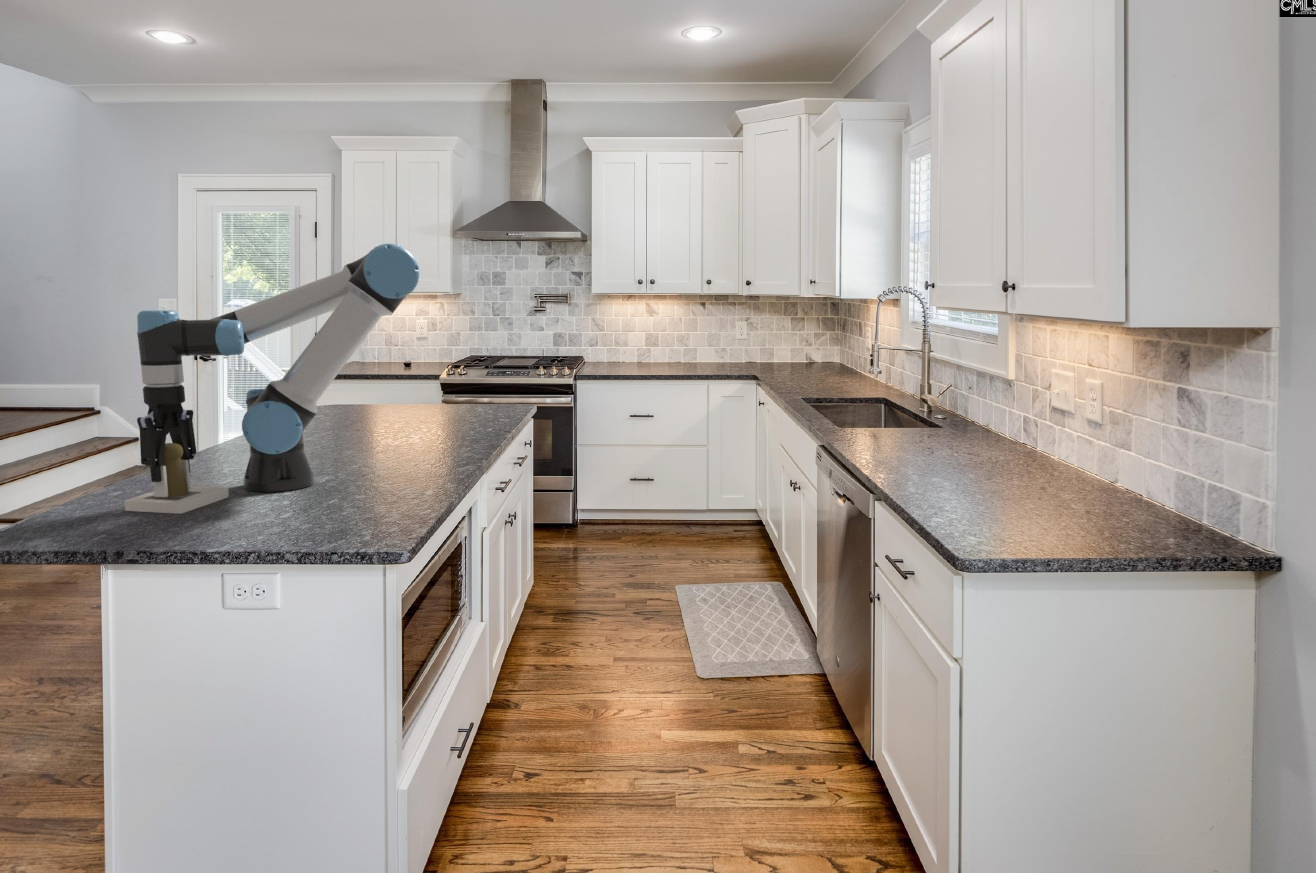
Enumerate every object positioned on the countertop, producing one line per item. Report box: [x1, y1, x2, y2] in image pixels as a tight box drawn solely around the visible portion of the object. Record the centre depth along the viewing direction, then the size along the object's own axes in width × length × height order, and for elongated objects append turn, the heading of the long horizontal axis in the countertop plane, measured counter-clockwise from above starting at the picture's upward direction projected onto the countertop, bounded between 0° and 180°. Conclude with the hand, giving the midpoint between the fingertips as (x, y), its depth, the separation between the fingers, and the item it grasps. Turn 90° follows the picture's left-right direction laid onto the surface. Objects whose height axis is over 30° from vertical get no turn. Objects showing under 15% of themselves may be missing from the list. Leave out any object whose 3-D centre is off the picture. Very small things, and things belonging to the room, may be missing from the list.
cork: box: [159, 442, 189, 498], centre depth 180 cm, size 6×6×11 cm
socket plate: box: [123, 485, 229, 514], centre depth 183 cm, size 15×13×2 cm
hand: (172, 492), depth 181 cm, fingers closed on cork, 6 cm apart
